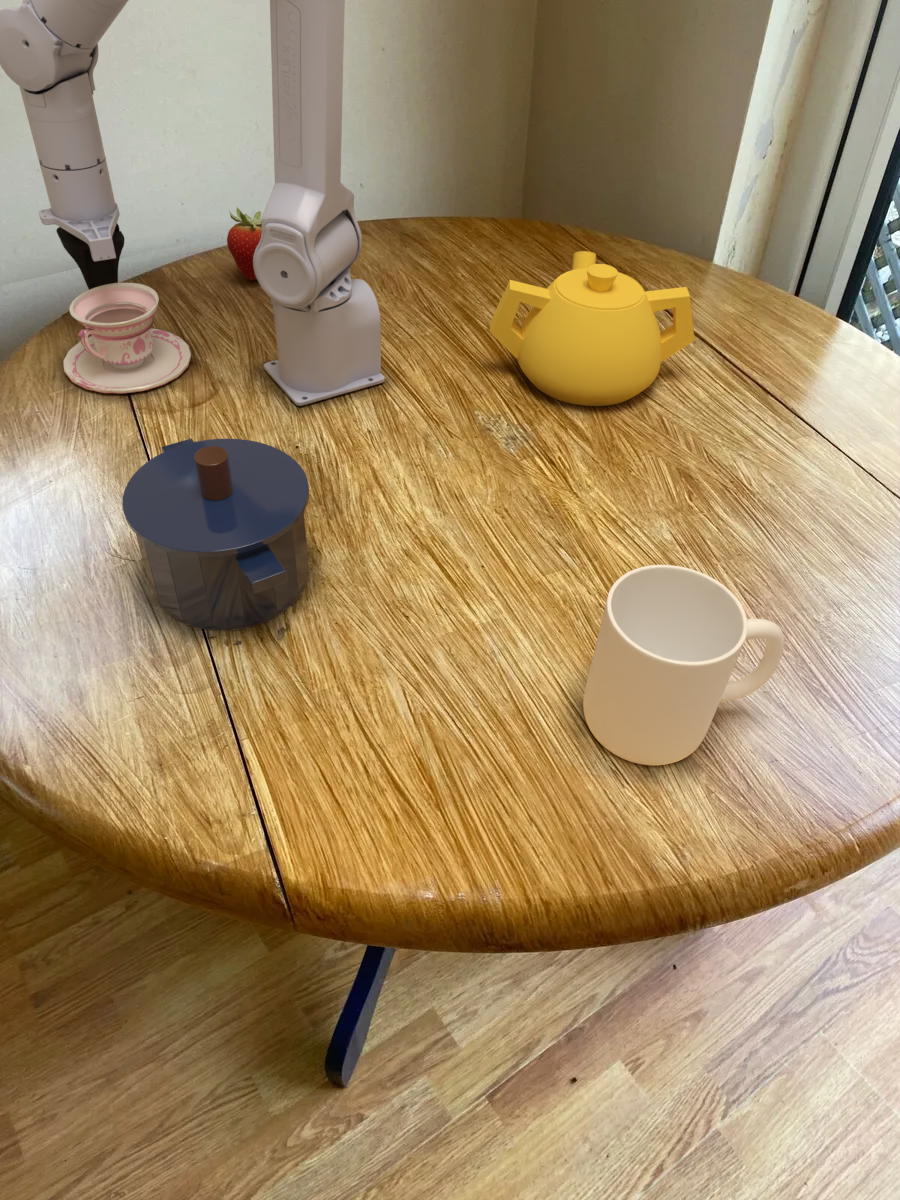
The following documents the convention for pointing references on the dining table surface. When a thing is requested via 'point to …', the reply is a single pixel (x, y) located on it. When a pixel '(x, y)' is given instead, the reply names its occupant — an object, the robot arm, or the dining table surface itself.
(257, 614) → the pot
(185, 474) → the pot lid
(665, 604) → the cup
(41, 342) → the dining table surface
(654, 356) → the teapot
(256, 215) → the fruit
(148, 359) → the teacup
